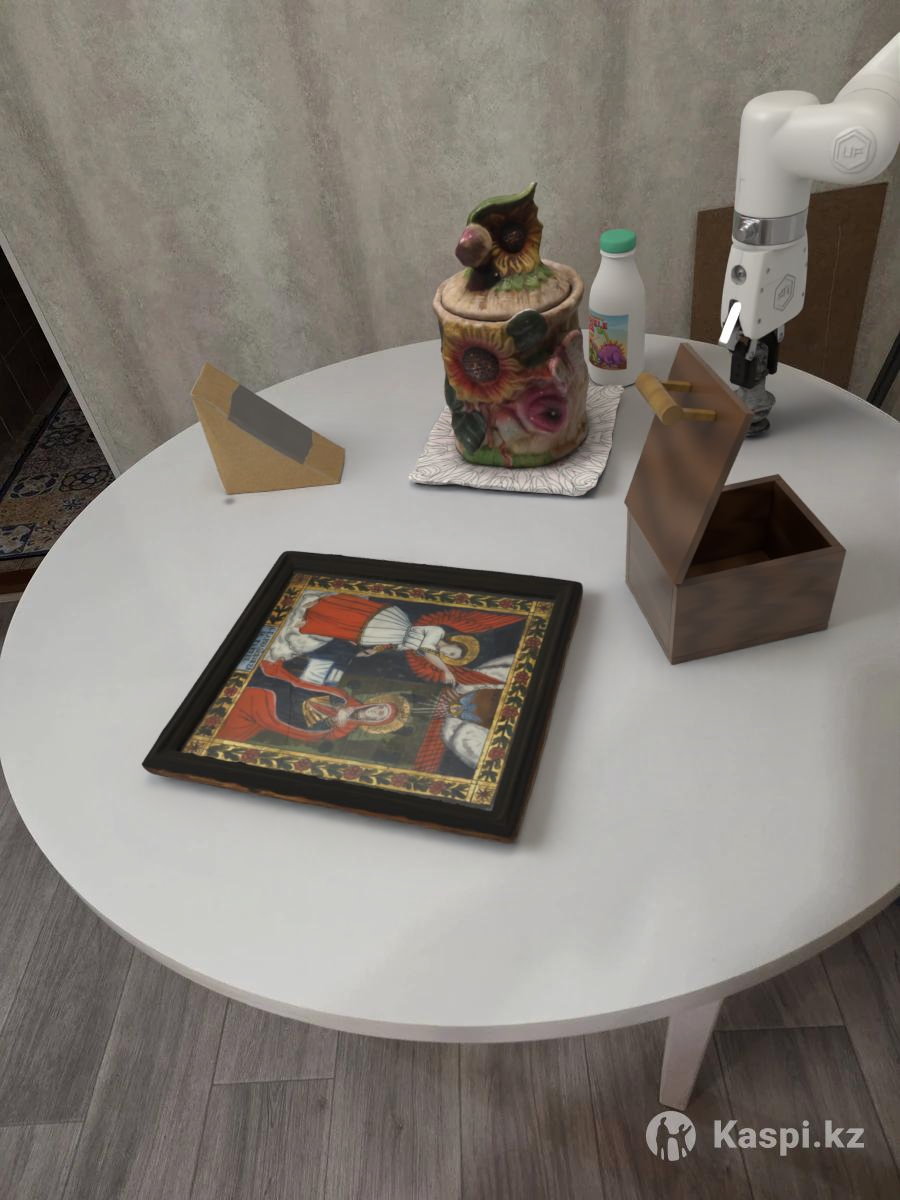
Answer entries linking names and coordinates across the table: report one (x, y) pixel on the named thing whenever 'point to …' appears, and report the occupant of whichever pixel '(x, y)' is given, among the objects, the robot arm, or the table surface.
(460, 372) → the cookie jar
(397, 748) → the framed painting
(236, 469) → the sandwich container
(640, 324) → the milk bottle
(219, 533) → the table surface
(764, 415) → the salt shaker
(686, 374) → the bin lid
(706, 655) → the bin
